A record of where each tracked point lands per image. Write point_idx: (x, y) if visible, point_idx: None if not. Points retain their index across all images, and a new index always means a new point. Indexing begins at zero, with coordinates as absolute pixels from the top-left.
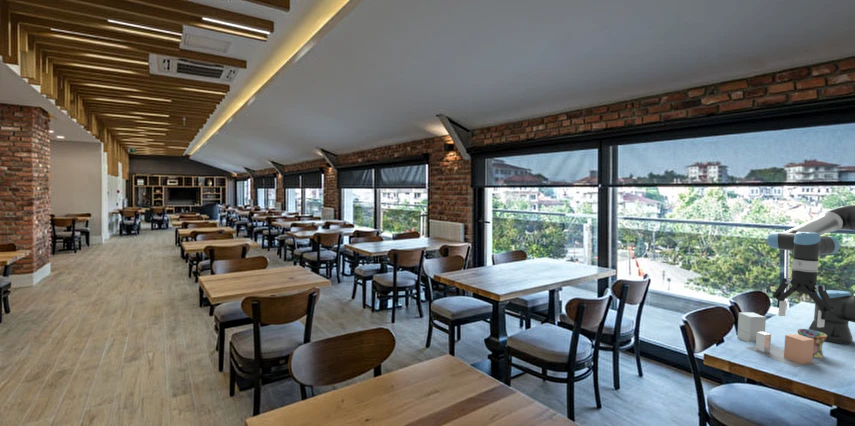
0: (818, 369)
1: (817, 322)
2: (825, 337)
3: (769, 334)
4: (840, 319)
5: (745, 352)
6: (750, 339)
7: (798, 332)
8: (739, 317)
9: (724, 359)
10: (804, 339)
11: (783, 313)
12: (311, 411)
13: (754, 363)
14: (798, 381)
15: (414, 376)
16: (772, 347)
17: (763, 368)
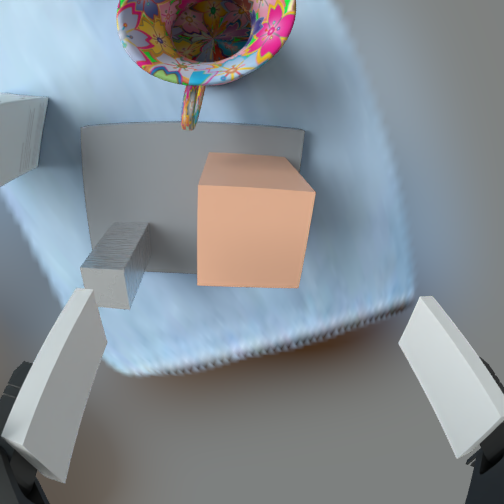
0: (311, 167)
1: (414, 370)
2: (295, 10)
3: (125, 281)
4: None
5: None
6: (29, 167)
7: (149, 71)
8: None
9: (157, 372)
10: (290, 256)
11: (90, 332)
12: None
13: (197, 331)
14: (325, 330)
15: None
16: (106, 147)
17: (233, 339)
